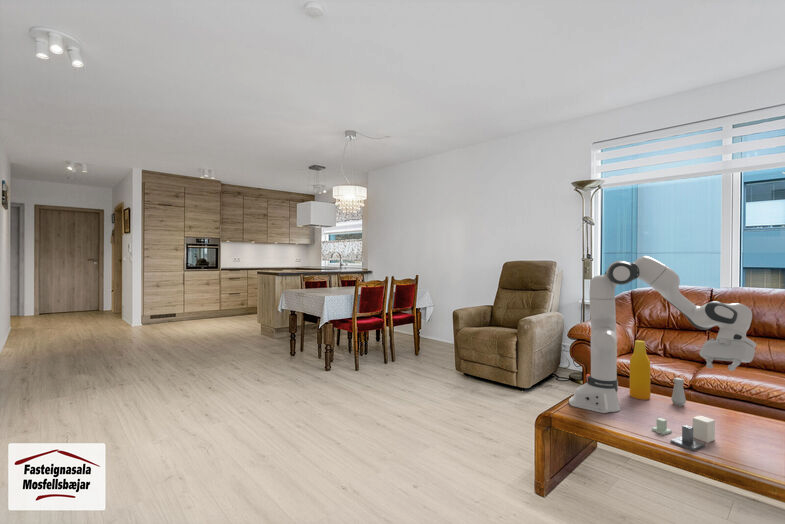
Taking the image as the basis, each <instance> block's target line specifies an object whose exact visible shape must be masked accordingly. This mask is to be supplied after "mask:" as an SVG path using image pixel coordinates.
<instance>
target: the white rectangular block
mask: <svg viewBox="0 0 785 524" xmlns="http://www.w3.org/2000/svg"><path fill="white" fill-rule="evenodd" d="M692 427H693V439H695V440H697V441H698V440H699V441H700V442H701V441H702V442H705V443H707V444H708V443H710V442H713V441H715V440H716V439H715V438H716V435H715V434H716V431H715V430H716V420H715V419H712V418H710V417H706V416H703V415H700V414H699V415H697V416H693V417H692Z"/></svg>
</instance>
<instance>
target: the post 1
mask: <svg viewBox="0 0 785 524" xmlns="http://www.w3.org/2000/svg"><path fill="white" fill-rule="evenodd" d="M651 431H653V432H655V431H656V433H658V432H659V434H661V435H663V436H665V434H666V435H669V434H671V433H672V429H670V428H668V420H667V419H665V418H662V417H659V418H656V426H653V427H651Z"/></svg>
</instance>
